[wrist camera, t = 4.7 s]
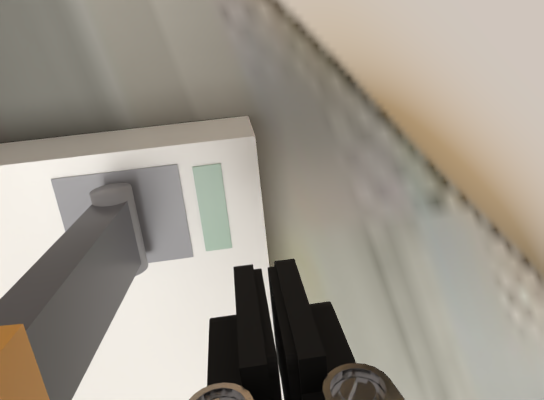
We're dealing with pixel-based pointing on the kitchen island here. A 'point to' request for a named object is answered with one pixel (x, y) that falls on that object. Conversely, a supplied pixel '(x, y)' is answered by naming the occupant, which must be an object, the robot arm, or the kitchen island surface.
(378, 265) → the kitchen island surface
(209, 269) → the panel
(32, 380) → the lever
